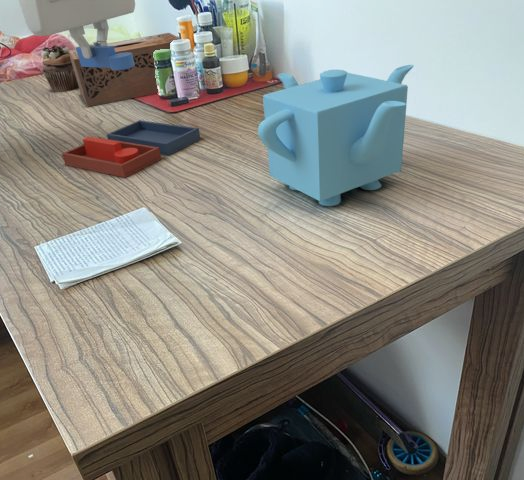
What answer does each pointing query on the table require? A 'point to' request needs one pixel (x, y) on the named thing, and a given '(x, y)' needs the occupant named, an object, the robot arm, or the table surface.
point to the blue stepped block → (107, 58)
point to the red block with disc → (108, 150)
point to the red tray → (81, 160)
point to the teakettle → (335, 132)
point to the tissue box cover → (122, 72)
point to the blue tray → (157, 135)
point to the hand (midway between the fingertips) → (96, 55)
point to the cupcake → (59, 69)
